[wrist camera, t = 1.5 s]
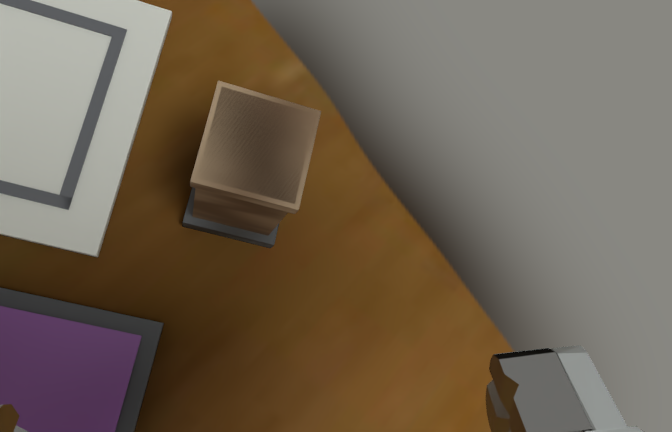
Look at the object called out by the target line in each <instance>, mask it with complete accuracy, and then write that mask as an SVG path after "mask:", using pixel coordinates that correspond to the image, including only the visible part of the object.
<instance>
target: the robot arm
mask: <svg viewBox="0 0 672 432" xmlns="http://www.w3.org/2000/svg"><path fill="white" fill-rule="evenodd" d="M489 370H490V372H491V375H492V378H493V380H492V381H491V382H490V383H489V384H488V385H487V389H486V409H487V416H488V421H489V425H490V429H491V432H644V431H643V430H641V429H640V428H638V427H637V426H631V427H627V425H626V423H625V421H624V419H623V418H622V416H621V414H620V412H619V410H618V408H617V406H616V405H615V403H614V401H613V399H612V397H611V395H610V393H609V392H608V390H607V388H606V386H605V384H604V382H603V380H602V379H601V377H600V375H599V373H598V371H597V370H596V368H595V366H594V364H593V362H592V361H591V359H590V357H589V355H588V353H587V351H586V350H585V349H584V348H583V347H582V346H571V347H561V348H552V349H549V348H545V349H536V350H528V351H519V352H510V353H501V354H493V356H492V358H491V360H490V367H489ZM18 419H19V414H18V413H17V411H16V410H15V408H14V407H13V406H12V404H4V405H0V432H28V431H26V430H24V429H22V428H20V427H19V426H17V425H16V424H17V421H18Z"/></svg>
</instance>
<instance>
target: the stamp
mask: <svg viewBox="0 0 672 432" xmlns="http://www.w3.org/2000/svg"><path fill="white" fill-rule="evenodd" d="M320 114H321V111H319V110H315V109H312V108H309V107H305V106H302V105H299V104H295V103H292V102H289V101H285V100H282V99H278V98H275V97H272V96H268V95H265V94H262V93H258V92H255V91H252V90H248V89H245V88H242V87H238V86H235V85H231V84H228V83H225V82H221V81H218V83H217V87H216V90H215V94H214V98H213V101H212V105H211V108H210V112H209V116H208V119H207V123H206V126H205V130H204V134H203V137H202V141H201V144H200V148H199V152H198V155H197V159H196V162H195V166H194V170H193V173H192V177H191V180H190V187H192V190H191V194H190V197H189V201H188V204H187V208H186V212H185V215H184V219H183V225H182V226H183V227H187V228H191V229H195V230H199V231H203V232H207V233H211V234H215V235H219V236H223V237H227V238H231V239H235V240H239V241H243V242H247V243H251V244H255V245H259V246H263V247H267V248H271V247H272V246H273V245H274V243H275V238H276V234H277V230H278V226H279V222H280V221H281V220H282V219H283V218H284V217H285V215H286V214H287V213H288V212H289V213H293V214H295V213H296V212H297V211H298V210H299V206H300V202H301V197H302V193H303V189H304V184H305V180H306V176H307V171H308V167H309V162H310V158H311V154H312V149H313V145H314V141H315V136H316V132H317V128H318V123H319V119H320Z"/></svg>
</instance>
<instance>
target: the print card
mask: <svg viewBox="0 0 672 432" xmlns="http://www.w3.org/2000/svg"><path fill="white" fill-rule="evenodd" d="M171 18H172V11H169V10H166V9H163V8H160V7H156V6H153V5H150V4H147V3H144V2H141V1H137V0H0V235H3V236H8V237H12V238H16V239H21V240H25V241H29V242H33V243H38V244H42V245H46V246H51V247H55V248H59V249H63V250H68V251H72V252H76V253H81V254H85V255H89V256H93V257H98V256H99V252H100V249H101V246H102V243H103V239H104V236H105V233H106V230H107V226H108V223H109V220H110V217H111V213H112V210H113V207H114V204H115V200H116V197H117V194H118V191H119V187H120V184H121V181H122V178H123V174H124V171H125V168H126V165H127V161H128V158H129V155H130V152H131V148H132V145H133V142H134V139H135V135H136V132H137V129H138V126H139V122H140V119H141V116H142V113H143V109H144V106H145V103H146V100H147V96H148V93H149V90H150V87H151V83H152V80H153V77H154V74H155V70H156V67H157V64H158V61H159V57H160V54H161V51H162V48H163V44H164V41H165V38H166V35H167V31H168V28H169V25H170V22H171Z"/></svg>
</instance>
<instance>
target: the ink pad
mask: <svg viewBox="0 0 672 432" xmlns="http://www.w3.org/2000/svg"><path fill="white" fill-rule="evenodd" d="M163 325H164V323H161V322H156V321H152V320H147V319H142V318H138V317H133V316H129V315H124V314H119V313H115V312H110V311H106V310H101V309H96V308H92V307H87V306H83V305H78V304H73V303H69V302H64V301H60V300H55V299H50V298H46V297H41V296H37V295H32V294H27V293H23V292H18V291H14V290H9V289H5V288H0V405H4V404H12V406H13V407H14V408H15V410H16V411H17V413H18V414H19V419H18V421H17V424H16V425H17V426H19V427H20V428H22V429H24V430H26V431H28V432H135V428H136V424H137V421H138V417H139V413H140V410H141V406H142V402H143V399H144V395H145V391H146V388H147V384H148V380H149V377H150V373H151V369H152V366H153V362H154V358H155V355H156V351H157V347H158V344H159V340H160V336H161V333H162V329H163Z"/></svg>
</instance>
